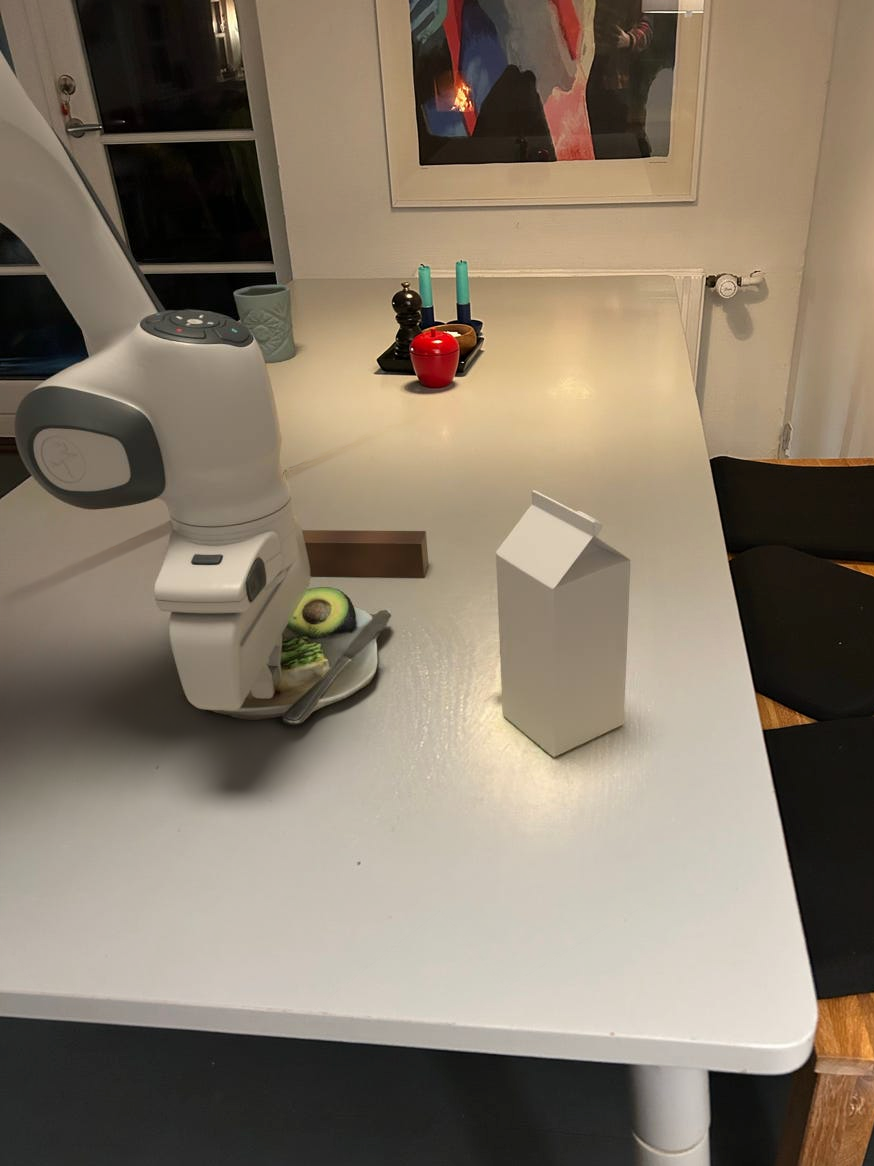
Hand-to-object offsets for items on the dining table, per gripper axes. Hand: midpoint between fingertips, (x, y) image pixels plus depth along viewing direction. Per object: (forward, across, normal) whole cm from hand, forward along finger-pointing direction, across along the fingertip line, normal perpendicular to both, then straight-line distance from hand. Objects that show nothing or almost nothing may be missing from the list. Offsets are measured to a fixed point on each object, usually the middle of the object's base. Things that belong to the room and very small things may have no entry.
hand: (268, 689), depth 78 cm
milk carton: (+3, -1, +24) cm, 24 cm away
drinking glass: (+3, -111, -35) cm, 116 cm away
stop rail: (+3, -26, 0) cm, 26 cm away
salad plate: (+3, -8, -1) cm, 8 cm away
